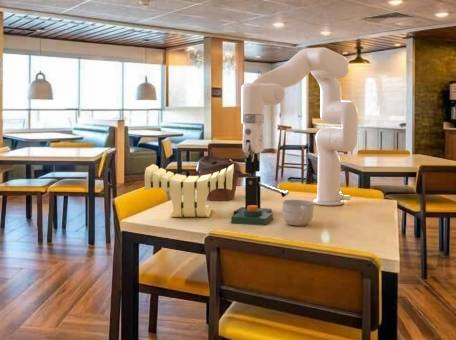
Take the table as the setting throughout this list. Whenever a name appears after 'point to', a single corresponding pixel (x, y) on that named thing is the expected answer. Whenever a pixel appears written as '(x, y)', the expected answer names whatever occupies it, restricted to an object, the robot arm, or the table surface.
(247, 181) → the bracket
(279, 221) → the table surface
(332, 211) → the table surface
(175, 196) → the slatted curved stool
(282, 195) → the lever
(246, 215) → the button block
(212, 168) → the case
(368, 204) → the table surface
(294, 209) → the teacup
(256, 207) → the button
